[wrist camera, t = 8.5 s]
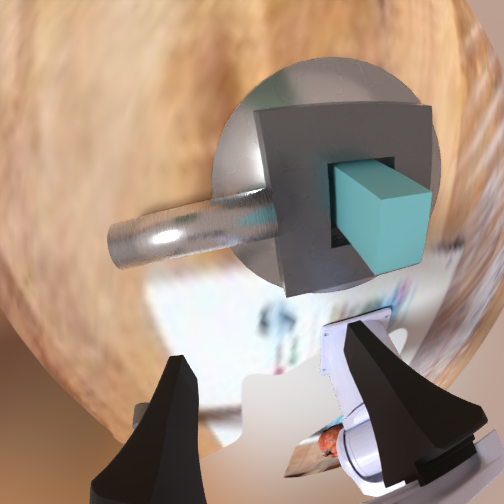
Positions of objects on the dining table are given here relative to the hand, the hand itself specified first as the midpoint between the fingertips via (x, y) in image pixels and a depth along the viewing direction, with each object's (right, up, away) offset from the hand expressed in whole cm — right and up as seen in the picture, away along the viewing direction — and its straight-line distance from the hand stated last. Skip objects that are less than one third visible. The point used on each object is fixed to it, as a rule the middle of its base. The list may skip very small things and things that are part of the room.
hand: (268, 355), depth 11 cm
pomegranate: (+16, -32, +34) cm, 49 cm away
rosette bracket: (+2, +9, +7) cm, 11 cm away
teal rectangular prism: (+6, +9, +6) cm, 12 cm away
